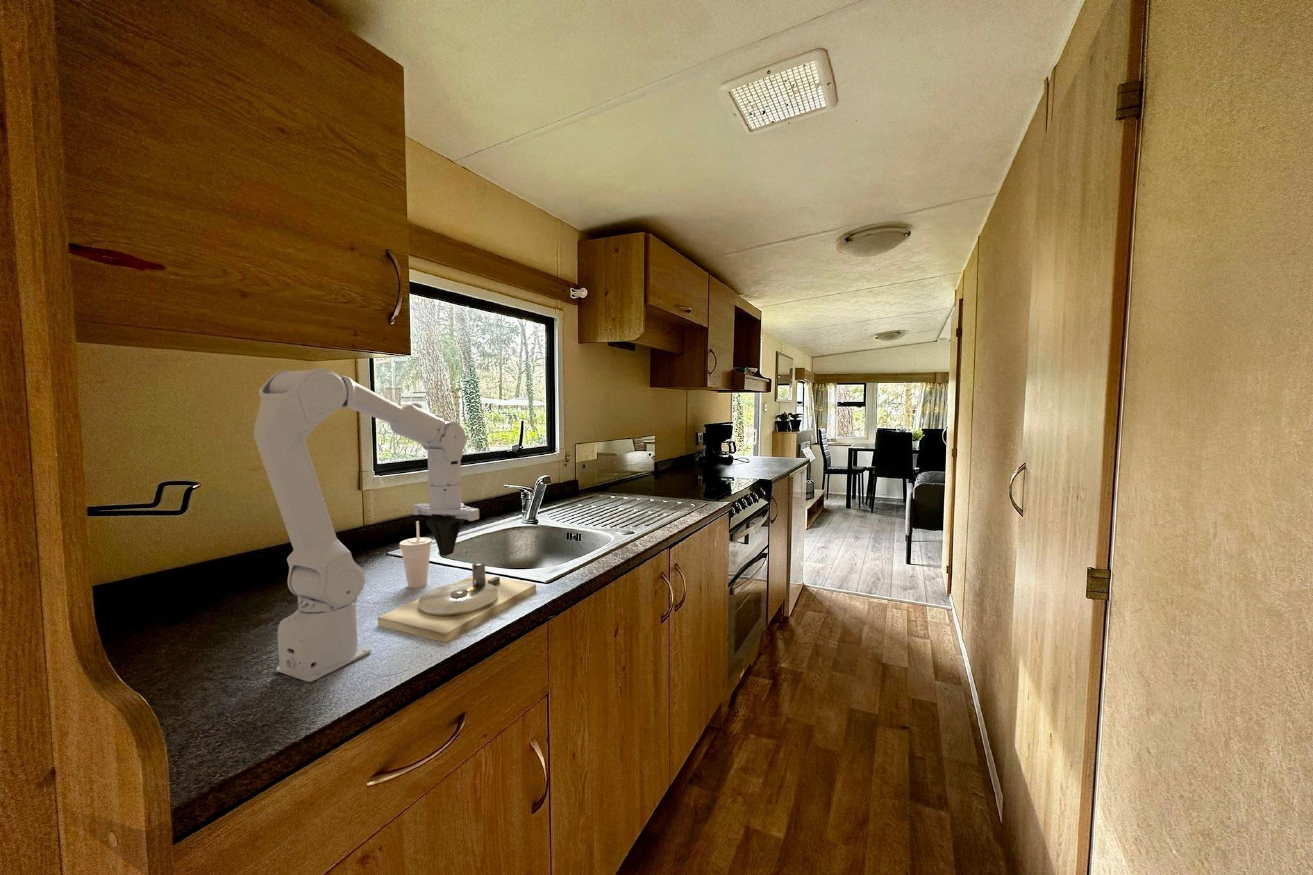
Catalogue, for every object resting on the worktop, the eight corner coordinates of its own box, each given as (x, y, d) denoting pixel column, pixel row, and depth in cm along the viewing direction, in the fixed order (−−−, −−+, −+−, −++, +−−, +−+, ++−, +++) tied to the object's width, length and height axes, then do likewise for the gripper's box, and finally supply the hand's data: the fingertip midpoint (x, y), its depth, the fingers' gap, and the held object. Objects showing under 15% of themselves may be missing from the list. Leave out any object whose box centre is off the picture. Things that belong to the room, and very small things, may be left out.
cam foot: (461, 620, 85) (460, 591, 84) (401, 608, 90) (399, 580, 90) (512, 592, 98) (512, 565, 98) (457, 583, 103) (456, 558, 103)
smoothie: (420, 591, 103) (418, 525, 102) (393, 589, 104) (391, 524, 103) (440, 580, 109) (437, 518, 108) (414, 578, 110) (412, 517, 109)
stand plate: (445, 642, 81) (445, 626, 81) (377, 625, 87) (377, 610, 87) (535, 591, 103) (535, 578, 103) (476, 580, 109) (476, 568, 109)
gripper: (489, 483, 95) (491, 552, 96) (432, 479, 100) (434, 544, 101) (462, 488, 88) (464, 563, 89) (403, 484, 94) (405, 554, 95)
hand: (446, 554), depth 95 cm, fingers closed
